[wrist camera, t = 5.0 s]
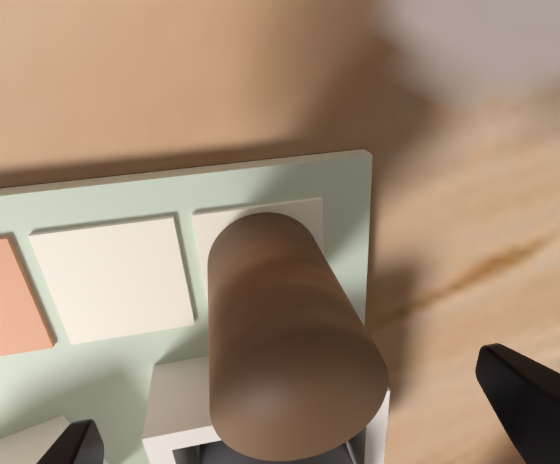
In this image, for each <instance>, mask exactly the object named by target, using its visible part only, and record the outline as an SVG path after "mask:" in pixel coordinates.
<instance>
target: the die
mask: <svg viewBox="0 0 560 464" xmlns="http://www.w3.org/2000/svg"><path fill="white" fill-rule="evenodd" d="M69 424H71V423H70V422H69V421H68V420H67V419H66V418H65V416H64V415H61V416H59V417H56V418H54V419H51V420H49V421H46V422H43V423H41V424H38V425H36V426H33V427H30V428H28V429H25V430H23V431H20V432H18V433H15V434H12V435H10V436H7V437H5V438H2V439H0V464H36V463H37V462H38V461H39V460H40V458H41V457H42V456H43V455H44V454H45V453H46V451H47V450H48V449H49V448H50V447H51V445H52V444H53V443H54V442H55V441H56V440H57V438H58V437H59V436H60V435H61V434H62V432H63V431H64V430H65V429H66V428H67V427H68V425H69ZM103 464H109V463H108V462H107V461H106V460H105V459H104V461H103Z"/></svg>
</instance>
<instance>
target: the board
mask: <svg viewBox="0 0 560 464" xmlns="http://www.w3.org/2000/svg"><path fill="white" fill-rule="evenodd" d="M372 161H373V154H371V153H369V152H368V151H366V150H365V149H359V150H350V151H341V152H331V153H322V154H313V155H304V156H295V157H285V158H276V159H267V160H258V161H249V162H239V163H230V164H221V165H212V166H202V167H193V168H184V169H175V170H166V171H156V172H147V173H138V174H129V175H120V176H110V177H101V178H92V179H83V180H74V181H64V182H55V183H46V184H37V185H28V186H18V187H9V188H0V439H2V438H5V437H7V436H10V435H12V434H15V433H18V432H20V431H23V430H25V429H28V428H30V427H33V426H36V425H38V424H41V423H43V422H46V421H49V420H51V419H54V418H56V417H59V416H61V415H64V416H65V418H66V419H67V420H68V421H69V422H70V423H72V422H74V421H78V420H84V419H93V420H94V421H95V423H96V425H97V428H98V430H99V433H100V435H101V438H102V440H103V443H104V459H105V460H106V461H107V462H108V463H109V464H199V452H200V444H205V443H210V442H215V441H220V440H221V439H220V437H219V436H218V435H217V433H216V432H215V430H214V428H213V425H212V422H211V419H210V409H209V342H208V275H207V263H208V256H209V252H210V249H211V246H212V244H213V243H214V241H215V239H216V238H217V236H218V235H219V234H220V233H221V232H222V231H223V230H224V229H225V228H226V227H227V226H228V225H230V224H231V223H233V222H234V221H236V220H238V219H240V218H242V217H244V216H248V215H251V214H255V213H263V212H272V213H279V214H284V215H287V216H290V217H292V218H294V219H296V220H297V221H299V222H300V223H302V224H303V225H304V226H305V227H306V228H307V229H308V230H309V231H310V233H311V234H312V236H313V238H314V239H315V241H316V243H317V244H318V246H319V248H320V250H321V252H322V253H323V255H324V257H325V259H326V260H327V262H328V264H329V266H330V267H331V269H332V271H333V273H334V274H335V276H336V278H337V280H338V281H339V283H340V285H341V287H342V288H343V290H344V292H345V294H346V295H347V297H348V299H349V301H350V302H351V304H352V306H353V308H354V309H355V311H356V313H357V315H358V316H359V318H360V320H361V322H362V323H363V325H364V327H365V308H366V287H367V266H368V245H369V224H370V203H371V182H372ZM389 399H390V389H389V387H387V393H386V396H385V399H384V401H383V403H382V405H381V407H380V409H379V411H378V412H377V414H376V415H375V417H374V418H373V419H372V420H371V421H370V423H369V424H368V425H367V426H366V427H365V428H364V429H363V430H362V431H360V432H359V433H358V434H357V435H355V436H354V437H353V438H351V439H350V440H348V441H347V442H346V444H347V447H348V450H349V453H350V456H351V458H352V461H353V464H383V463H384V452H385V441H386V431H387V420H388V410H389Z"/></svg>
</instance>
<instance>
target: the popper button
mask: <svg viewBox="0 0 560 464" xmlns="http://www.w3.org/2000/svg"><path fill="white" fill-rule="evenodd" d="M199 464H353V461H352V458H351V456H350V453H349V450H348V447H347V444H346V442H345V443H343V444H342V445H340V446H338V447H336V448H334V449H332V450H329V451H327V452H325V453H322V454H319V455H316V456H312V457H308V458H304V459H299V460H291V461H268V460H260V459H256V458H252V457H249V456H246V455H243V454H241V453H239V452H237V451H235V450H233V449H232V448H230V447H229V446H228V445H226V444H225V443H224V442H223V441H222V440H220V441H215V442H210V443H205V444H200V452H199Z"/></svg>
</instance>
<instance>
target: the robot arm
mask: <svg viewBox="0 0 560 464" xmlns="http://www.w3.org/2000/svg"><path fill="white" fill-rule="evenodd" d="M475 371H476V377H477V380H478V382H479V384H480V386H481V387H482V389H483V391H484V393H485V395H486V397H487V398H488V400H489V402H490V404H491V406H492V407H493V409H494V411H495V413H496V415H497V416H498V418H499V420H500V422H501V424H502V426H503V427H504V429H505V431H506V433H507V434H508V436H509V438H510V439H511V441H512V443H513V444H514V446H515V447H516V449H517V450H518V452H519V453H520V455H521V456H522V458H523V459H524V461H525V462H526V464H560V373H558V372H556V371H554V370H552V369H550V368H548V367H546V366H544V365H542V364H540V363H538V362H536V361H534V360H532V359H530V358H528V357H526V356H524V355H522V354H520V353H518V352H516V351H514V350H512V349H510V348H508V347H506V346H504V345H502V344H498V343H495V344H489V345H484V346H482V347H481V349H480V352H479V356H478V360H477V365H476V370H475ZM103 461H104V443H103V440H102V438H101V435H100V433H99V430H98V428H97V425H96V423H95V421H94V420H93V419H84V420H78V421H74V422H72V423H71V424H69V425H68V427H67V428H66V429H65V430H64V431H63V432H62V434H61V435H60V436H59V437H58V438H57V440H56V441H55V442H54V443H53V444H52V445H51V447H50V448H49V449H48V450H47V451H46V453H45V454H44V455H43V456H42V457H41V458H40V460H39V461H38V462H37V463H36V464H103Z"/></svg>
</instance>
